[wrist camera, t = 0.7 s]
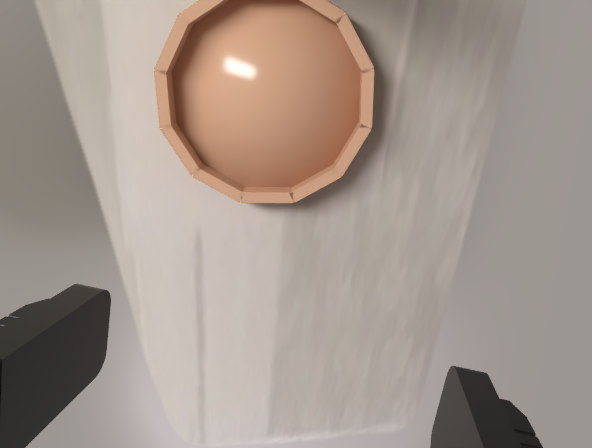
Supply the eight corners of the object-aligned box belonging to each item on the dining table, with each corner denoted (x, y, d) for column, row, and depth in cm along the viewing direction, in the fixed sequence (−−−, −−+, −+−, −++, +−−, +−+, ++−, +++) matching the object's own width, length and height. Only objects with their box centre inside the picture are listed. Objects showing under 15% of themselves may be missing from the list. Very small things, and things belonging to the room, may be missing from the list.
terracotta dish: (133, 134, 37) (123, 139, 35) (221, -63, 32) (215, -69, 31) (304, 228, 39) (304, 237, 37) (411, 55, 34) (416, 56, 33)
